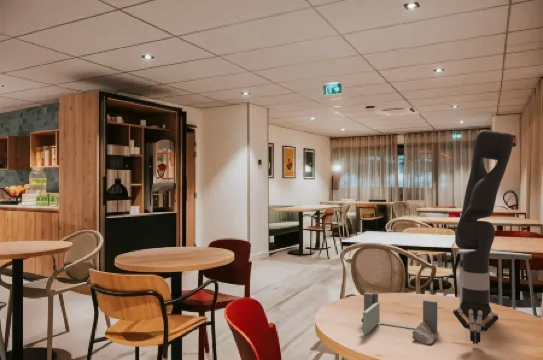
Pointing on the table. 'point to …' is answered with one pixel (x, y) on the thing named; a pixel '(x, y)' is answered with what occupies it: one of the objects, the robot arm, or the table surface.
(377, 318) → the door
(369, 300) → the door frame
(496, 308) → the table surface
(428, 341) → the stone
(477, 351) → the table surface
